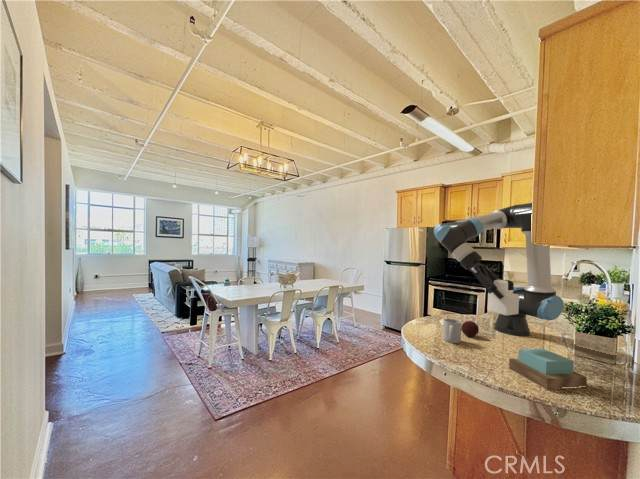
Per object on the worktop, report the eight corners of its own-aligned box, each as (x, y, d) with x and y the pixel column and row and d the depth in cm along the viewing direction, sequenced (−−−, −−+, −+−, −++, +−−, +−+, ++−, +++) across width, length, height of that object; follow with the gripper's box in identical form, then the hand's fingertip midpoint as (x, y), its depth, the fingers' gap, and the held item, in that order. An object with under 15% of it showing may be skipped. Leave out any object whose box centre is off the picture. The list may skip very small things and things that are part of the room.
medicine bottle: (498, 309, 105) (499, 278, 105) (518, 314, 99) (519, 281, 99) (486, 310, 102) (487, 278, 102) (506, 315, 96) (507, 281, 96)
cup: (460, 339, 125) (461, 320, 125) (460, 346, 116) (461, 325, 116) (443, 336, 128) (444, 317, 129) (441, 343, 120) (442, 322, 120)
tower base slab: (543, 369, 99) (543, 357, 99) (586, 389, 85) (586, 377, 85) (509, 370, 97) (509, 358, 97) (547, 391, 83) (547, 378, 83)
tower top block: (543, 360, 97) (543, 348, 97) (573, 373, 87) (573, 360, 87) (518, 360, 96) (518, 349, 96) (545, 374, 86) (546, 361, 86)
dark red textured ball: (477, 334, 133) (477, 320, 133) (479, 339, 126) (479, 324, 126) (460, 332, 136) (460, 318, 136) (461, 337, 129) (462, 322, 129)
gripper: (469, 262, 119) (511, 305, 107) (449, 263, 104) (496, 314, 93) (483, 250, 115) (528, 294, 104) (464, 250, 100) (515, 301, 89)
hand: (513, 303), depth 98 cm, fingers closed on medicine bottle, 9 cm apart
